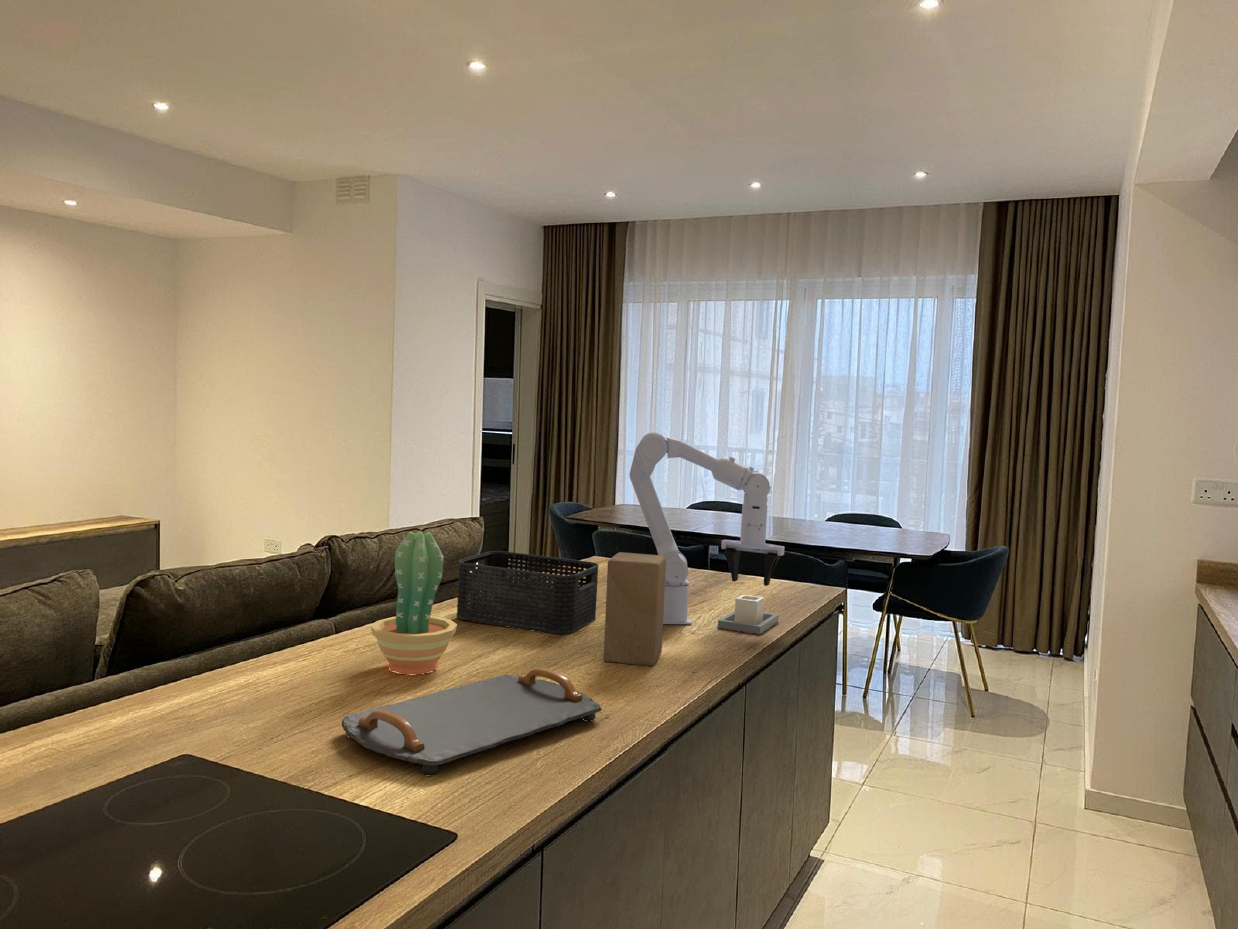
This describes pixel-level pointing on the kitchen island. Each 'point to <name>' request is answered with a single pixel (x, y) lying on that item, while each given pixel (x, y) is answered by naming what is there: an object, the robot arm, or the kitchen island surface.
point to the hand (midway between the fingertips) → (750, 582)
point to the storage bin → (527, 592)
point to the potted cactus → (415, 609)
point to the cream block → (749, 609)
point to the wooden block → (634, 608)
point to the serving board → (469, 718)
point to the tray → (729, 624)
